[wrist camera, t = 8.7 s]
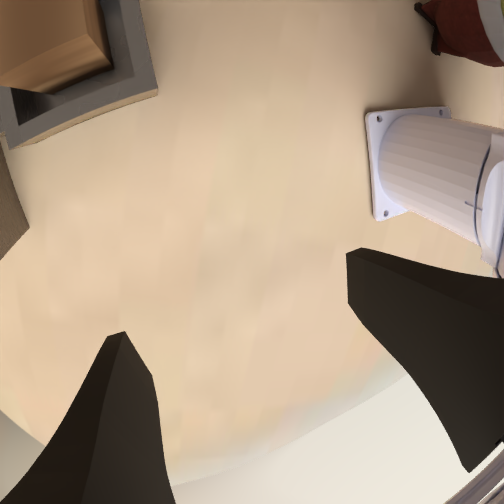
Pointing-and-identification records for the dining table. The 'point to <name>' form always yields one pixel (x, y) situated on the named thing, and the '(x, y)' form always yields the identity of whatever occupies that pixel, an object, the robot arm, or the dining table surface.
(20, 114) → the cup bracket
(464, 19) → the mate gourd
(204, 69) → the dining table surface
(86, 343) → the dining table surface
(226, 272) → the dining table surface
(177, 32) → the dining table surface
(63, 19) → the brown rectangular block
